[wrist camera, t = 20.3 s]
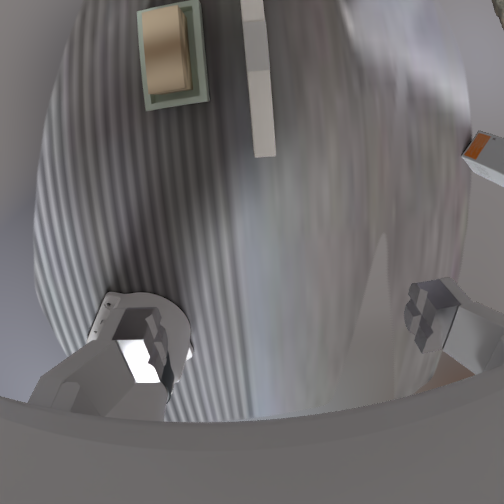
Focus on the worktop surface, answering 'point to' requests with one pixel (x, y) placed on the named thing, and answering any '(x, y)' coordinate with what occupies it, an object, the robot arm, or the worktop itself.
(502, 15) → the long grey stone
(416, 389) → the worktop surface
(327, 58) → the worktop surface
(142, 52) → the pale green tray
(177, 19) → the bar
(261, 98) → the door edge
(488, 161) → the skincare box
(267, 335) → the worktop surface
